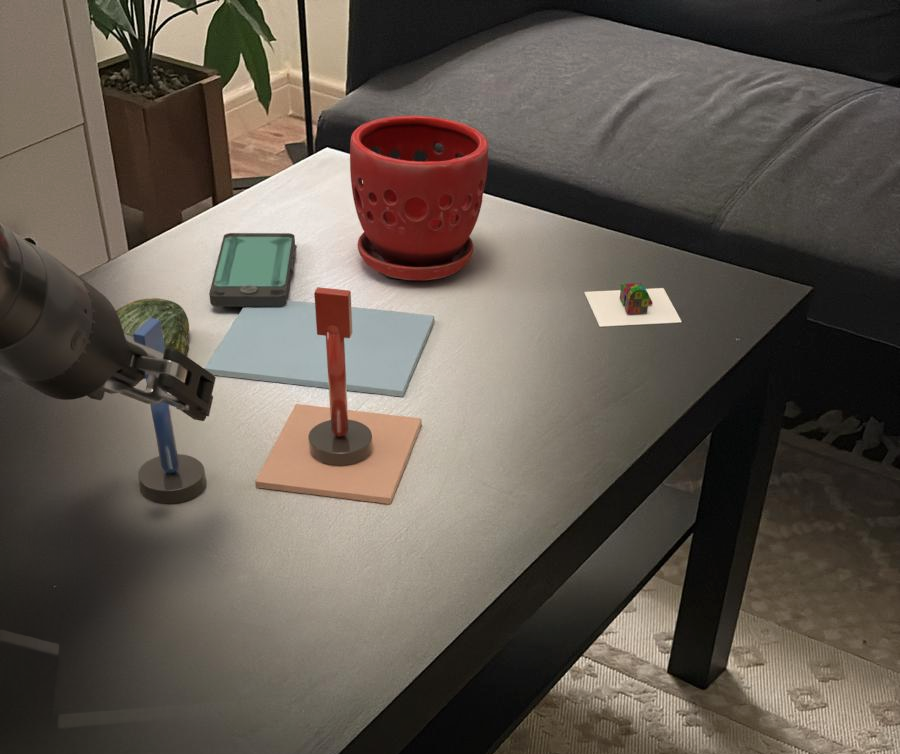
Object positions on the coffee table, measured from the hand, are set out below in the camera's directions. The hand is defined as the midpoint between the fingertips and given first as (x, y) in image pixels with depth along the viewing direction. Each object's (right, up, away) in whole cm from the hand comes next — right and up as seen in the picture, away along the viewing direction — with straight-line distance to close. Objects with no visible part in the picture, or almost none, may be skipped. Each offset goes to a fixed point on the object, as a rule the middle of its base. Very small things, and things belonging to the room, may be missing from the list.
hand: (152, 396), depth 95 cm
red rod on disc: (+13, -1, +9) cm, 16 cm away
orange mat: (+13, -2, +10) cm, 17 cm away
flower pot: (+19, +24, +34) cm, 46 cm away
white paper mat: (+40, +17, +28) cm, 52 cm away
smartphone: (+3, +22, +31) cm, 38 cm away
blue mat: (+11, +11, +22) cm, 27 cm away
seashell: (-6, +11, +21) cm, 25 cm away
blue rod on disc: (0, -5, +7) cm, 8 cm away
